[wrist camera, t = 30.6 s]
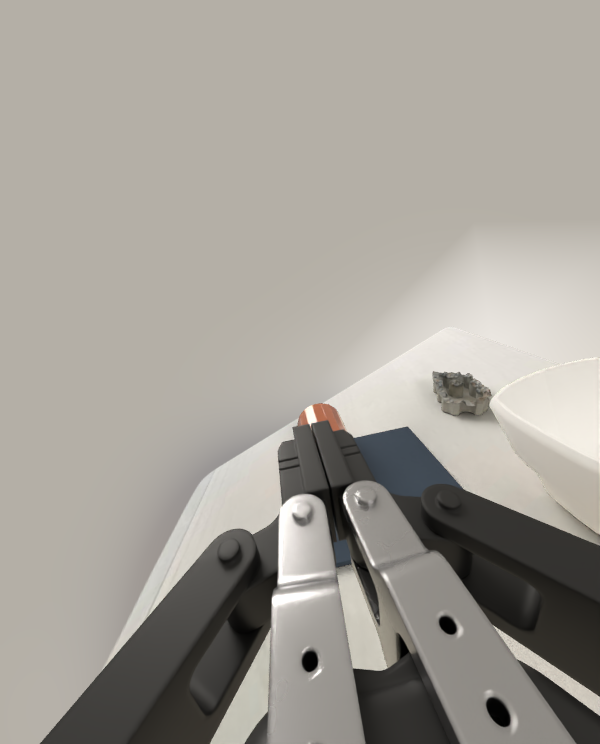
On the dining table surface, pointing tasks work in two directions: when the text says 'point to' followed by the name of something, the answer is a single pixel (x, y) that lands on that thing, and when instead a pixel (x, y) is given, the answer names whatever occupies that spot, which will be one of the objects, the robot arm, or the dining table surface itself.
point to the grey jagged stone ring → (460, 393)
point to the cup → (321, 416)
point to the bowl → (558, 432)
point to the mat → (397, 470)
